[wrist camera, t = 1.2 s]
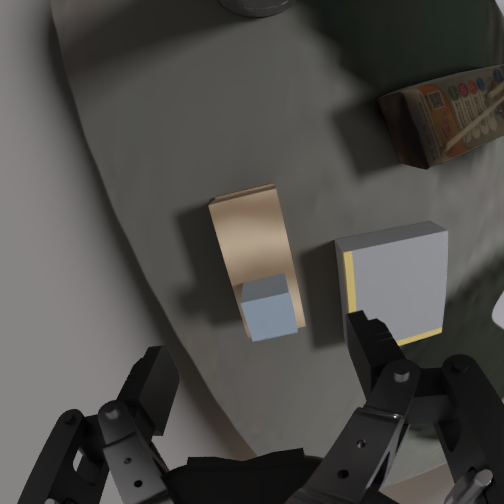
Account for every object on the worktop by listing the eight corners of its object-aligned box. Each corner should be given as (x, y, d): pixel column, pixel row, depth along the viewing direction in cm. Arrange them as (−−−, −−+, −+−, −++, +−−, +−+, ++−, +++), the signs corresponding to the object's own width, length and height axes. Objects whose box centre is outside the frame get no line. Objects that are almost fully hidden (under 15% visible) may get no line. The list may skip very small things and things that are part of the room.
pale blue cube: (243, 282, 29) (240, 303, 25) (285, 272, 28) (288, 292, 24) (254, 317, 30) (253, 341, 26) (293, 309, 29) (297, 332, 26)
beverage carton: (505, 123, 26) (539, 125, 20) (398, 168, 29) (428, 174, 23) (485, 66, 24) (517, 59, 17) (370, 99, 27) (395, 89, 21)
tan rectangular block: (216, 196, 31) (208, 205, 26) (273, 182, 30) (275, 188, 26) (249, 313, 35) (248, 337, 31) (300, 302, 35) (305, 326, 30)
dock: (334, 239, 32) (343, 252, 28) (430, 220, 31) (448, 230, 27) (343, 338, 36) (351, 357, 32) (427, 316, 35) (441, 332, 31)
